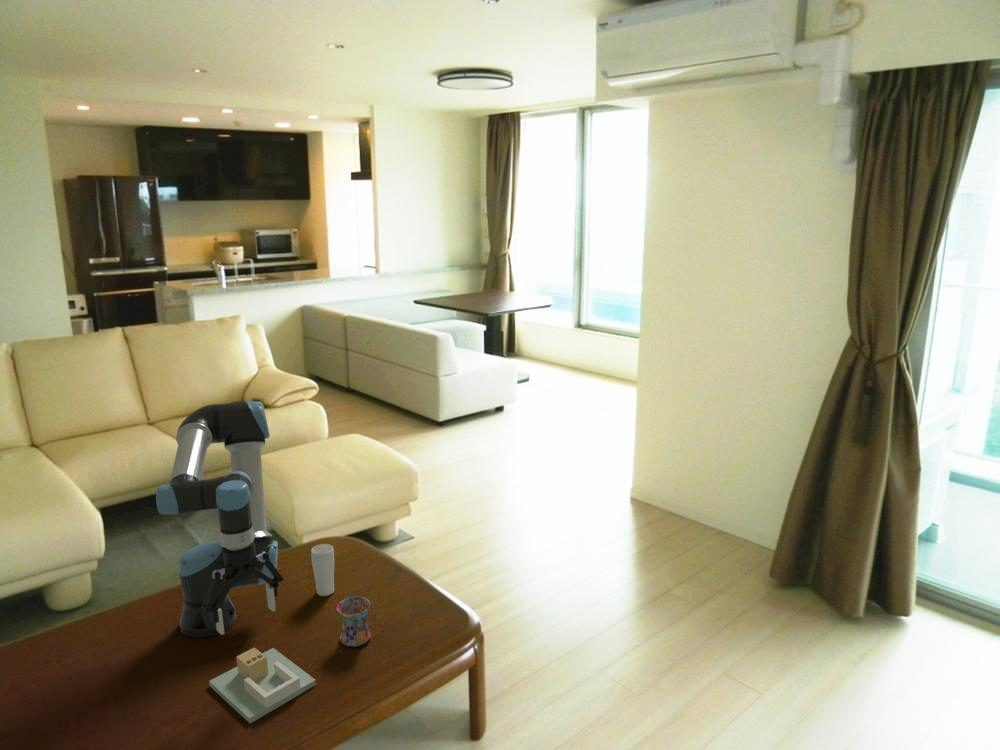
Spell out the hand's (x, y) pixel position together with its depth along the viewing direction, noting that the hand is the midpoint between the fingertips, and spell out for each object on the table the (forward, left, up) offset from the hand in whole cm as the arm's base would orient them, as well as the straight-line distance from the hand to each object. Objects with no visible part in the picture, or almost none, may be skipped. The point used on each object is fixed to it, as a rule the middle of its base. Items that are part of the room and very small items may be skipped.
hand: (246, 620), depth 176 cm
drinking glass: (-20, +36, -17) cm, 44 cm away
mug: (+6, +28, -17) cm, 33 cm away
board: (+5, 0, -17) cm, 17 cm away
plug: (+1, 0, -15) cm, 15 cm away
